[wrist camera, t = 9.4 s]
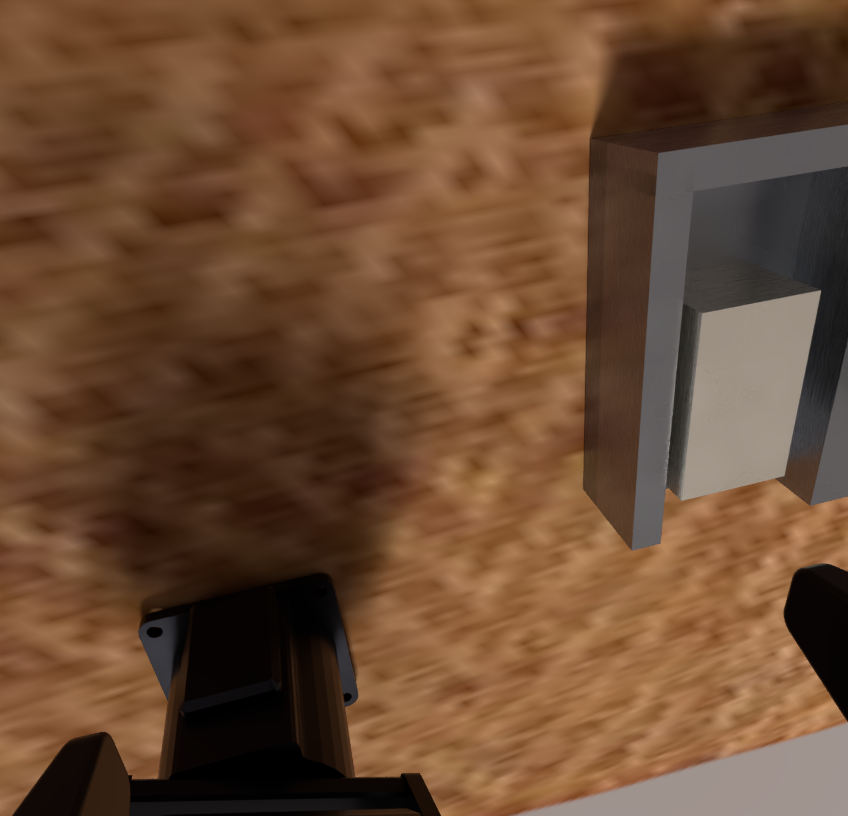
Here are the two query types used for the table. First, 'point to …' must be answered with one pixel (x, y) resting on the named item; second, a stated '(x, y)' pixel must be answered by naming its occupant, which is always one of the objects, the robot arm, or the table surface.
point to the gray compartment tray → (717, 313)
